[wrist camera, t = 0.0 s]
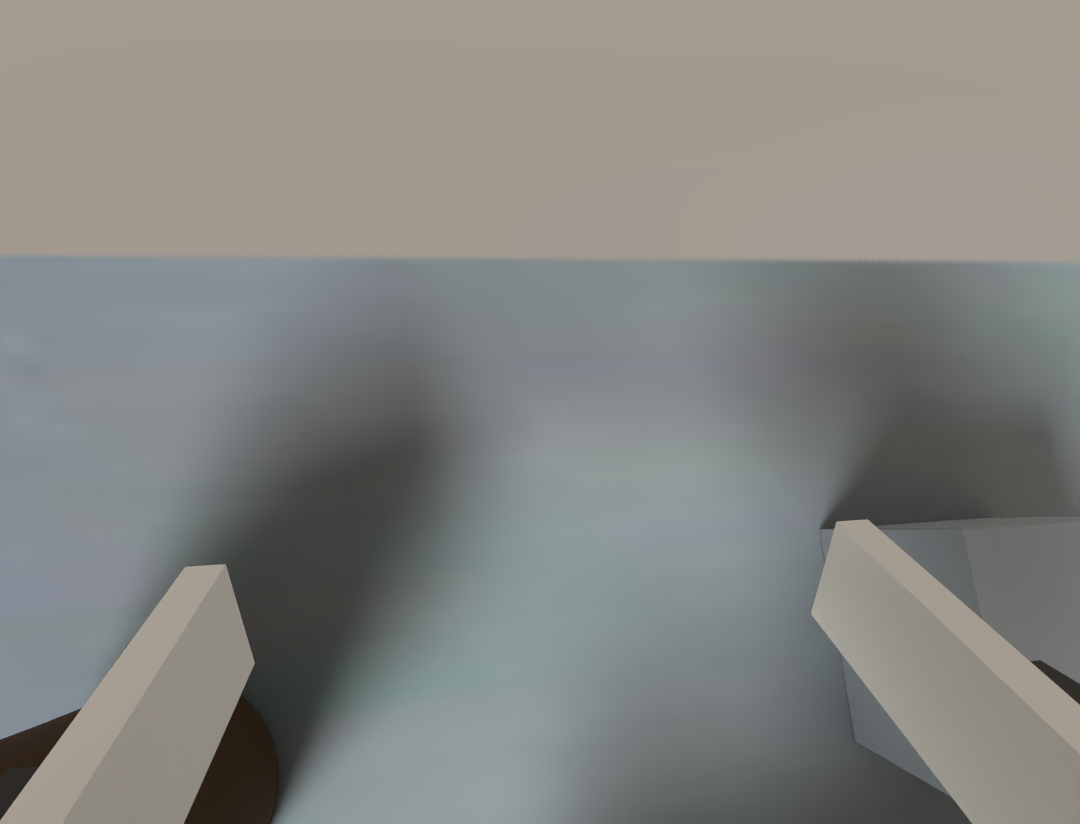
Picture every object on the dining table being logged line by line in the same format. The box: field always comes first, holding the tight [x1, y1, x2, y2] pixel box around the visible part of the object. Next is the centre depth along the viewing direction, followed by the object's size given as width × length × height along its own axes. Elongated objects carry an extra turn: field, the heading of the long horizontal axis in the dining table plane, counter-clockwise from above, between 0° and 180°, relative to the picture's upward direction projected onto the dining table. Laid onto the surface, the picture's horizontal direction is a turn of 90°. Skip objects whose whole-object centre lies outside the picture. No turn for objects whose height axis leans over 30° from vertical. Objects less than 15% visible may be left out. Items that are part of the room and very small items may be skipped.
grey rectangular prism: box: [820, 515, 1080, 797], centre depth 24 cm, size 10×10×9 cm
